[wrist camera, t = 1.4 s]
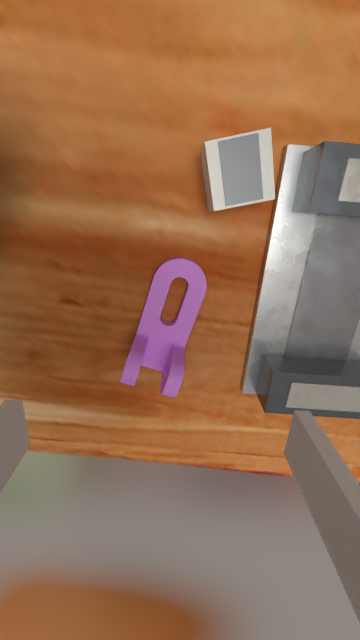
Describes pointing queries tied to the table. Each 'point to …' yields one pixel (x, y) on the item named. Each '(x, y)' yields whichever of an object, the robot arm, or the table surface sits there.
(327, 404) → the rail board
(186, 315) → the bracket
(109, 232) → the table surface
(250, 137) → the block
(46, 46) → the table surface
